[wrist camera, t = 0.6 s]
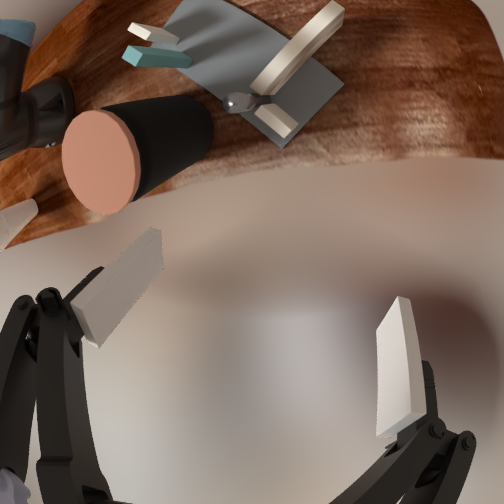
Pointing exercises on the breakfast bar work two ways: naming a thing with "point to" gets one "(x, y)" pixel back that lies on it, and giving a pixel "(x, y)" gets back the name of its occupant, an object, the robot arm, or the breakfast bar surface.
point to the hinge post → (244, 101)
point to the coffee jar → (132, 149)
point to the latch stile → (156, 57)
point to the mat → (244, 60)
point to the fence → (265, 112)
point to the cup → (15, 220)
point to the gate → (299, 49)
